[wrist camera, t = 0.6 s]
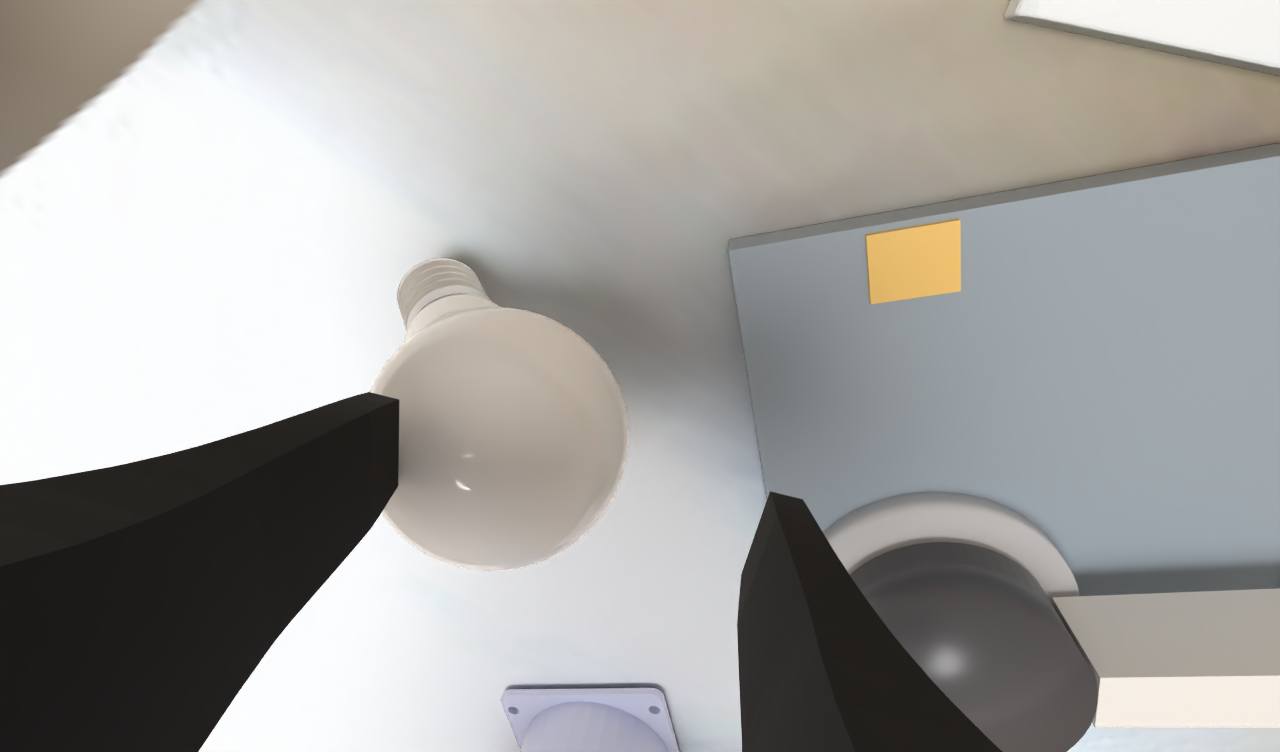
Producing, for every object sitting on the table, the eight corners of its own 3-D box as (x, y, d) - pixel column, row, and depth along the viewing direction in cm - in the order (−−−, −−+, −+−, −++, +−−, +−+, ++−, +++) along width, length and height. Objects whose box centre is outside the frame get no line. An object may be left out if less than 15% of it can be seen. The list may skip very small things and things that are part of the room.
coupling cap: (836, 697, 23) (848, 778, 20) (818, 549, 20) (829, 619, 18) (1306, 694, 20) (1395, 790, 17) (1360, 516, 17) (1475, 596, 14)
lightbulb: (554, 309, 23) (699, 526, 16) (401, 392, 22) (476, 663, 15) (477, 157, 19) (628, 360, 11) (283, 255, 18) (304, 545, 10)
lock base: (1298, 664, 22) (1360, 728, 20) (795, 673, 27) (800, 726, 24) (1455, 111, 15) (1577, 115, 13) (729, 239, 19) (727, 259, 17)
